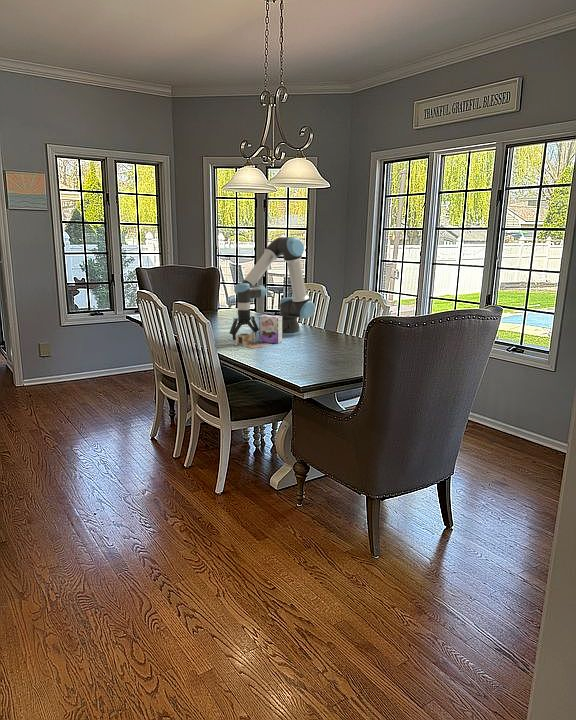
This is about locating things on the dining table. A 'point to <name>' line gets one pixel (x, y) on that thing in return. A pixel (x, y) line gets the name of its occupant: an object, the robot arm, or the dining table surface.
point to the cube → (244, 339)
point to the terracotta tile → (253, 346)
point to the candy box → (270, 329)
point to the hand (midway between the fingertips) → (244, 343)
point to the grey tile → (264, 344)
